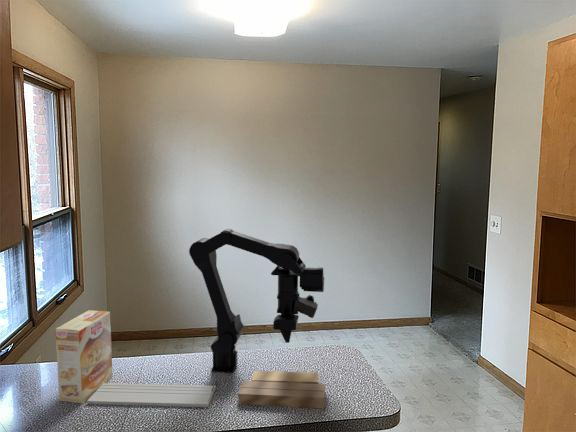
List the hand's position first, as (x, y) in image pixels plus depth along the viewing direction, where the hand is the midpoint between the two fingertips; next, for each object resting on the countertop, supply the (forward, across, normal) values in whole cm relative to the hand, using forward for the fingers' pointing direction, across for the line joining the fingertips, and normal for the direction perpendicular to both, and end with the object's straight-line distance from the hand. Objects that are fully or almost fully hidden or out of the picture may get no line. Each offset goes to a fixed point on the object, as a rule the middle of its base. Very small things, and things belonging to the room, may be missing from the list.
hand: (287, 342), depth 136 cm
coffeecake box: (+10, -15, +53) cm, 56 cm away
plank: (+9, -8, 0) cm, 12 cm away
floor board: (+9, -15, 0) cm, 18 cm away
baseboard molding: (+10, -16, +34) cm, 39 cm away
